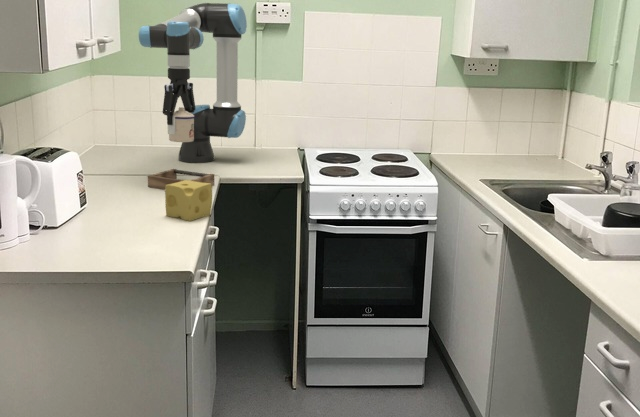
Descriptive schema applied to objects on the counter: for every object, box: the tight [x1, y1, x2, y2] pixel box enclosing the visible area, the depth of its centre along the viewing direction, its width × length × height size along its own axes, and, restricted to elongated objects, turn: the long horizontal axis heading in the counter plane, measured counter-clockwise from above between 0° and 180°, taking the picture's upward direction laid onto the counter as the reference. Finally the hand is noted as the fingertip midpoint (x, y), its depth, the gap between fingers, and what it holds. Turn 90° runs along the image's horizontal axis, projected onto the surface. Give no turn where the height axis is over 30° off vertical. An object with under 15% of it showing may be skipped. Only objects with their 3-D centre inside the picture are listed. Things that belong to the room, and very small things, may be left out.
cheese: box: [164, 179, 213, 222], centre depth 214 cm, size 10×11×10 cm
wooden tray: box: [147, 168, 215, 191], centre depth 252 cm, size 15×18×4 cm
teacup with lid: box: [168, 106, 195, 143], centre depth 247 cm, size 12×9×12 cm
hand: (179, 132), depth 247 cm, fingers closed on teacup with lid, 9 cm apart
